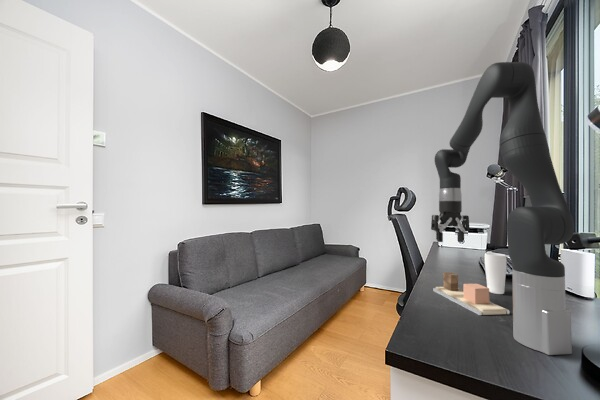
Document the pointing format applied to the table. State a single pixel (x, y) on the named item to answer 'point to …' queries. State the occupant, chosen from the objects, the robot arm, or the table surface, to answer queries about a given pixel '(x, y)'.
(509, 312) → the guide rails
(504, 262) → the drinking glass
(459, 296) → the birch strip
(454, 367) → the table surface
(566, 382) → the table surface
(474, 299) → the terracotta block
